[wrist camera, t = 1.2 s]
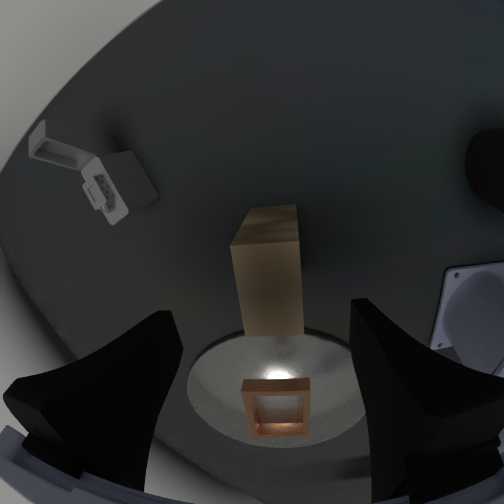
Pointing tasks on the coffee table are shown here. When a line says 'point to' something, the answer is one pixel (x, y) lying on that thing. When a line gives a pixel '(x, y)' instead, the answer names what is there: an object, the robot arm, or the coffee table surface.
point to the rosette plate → (277, 388)
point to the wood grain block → (269, 272)
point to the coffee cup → (487, 166)
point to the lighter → (95, 170)
